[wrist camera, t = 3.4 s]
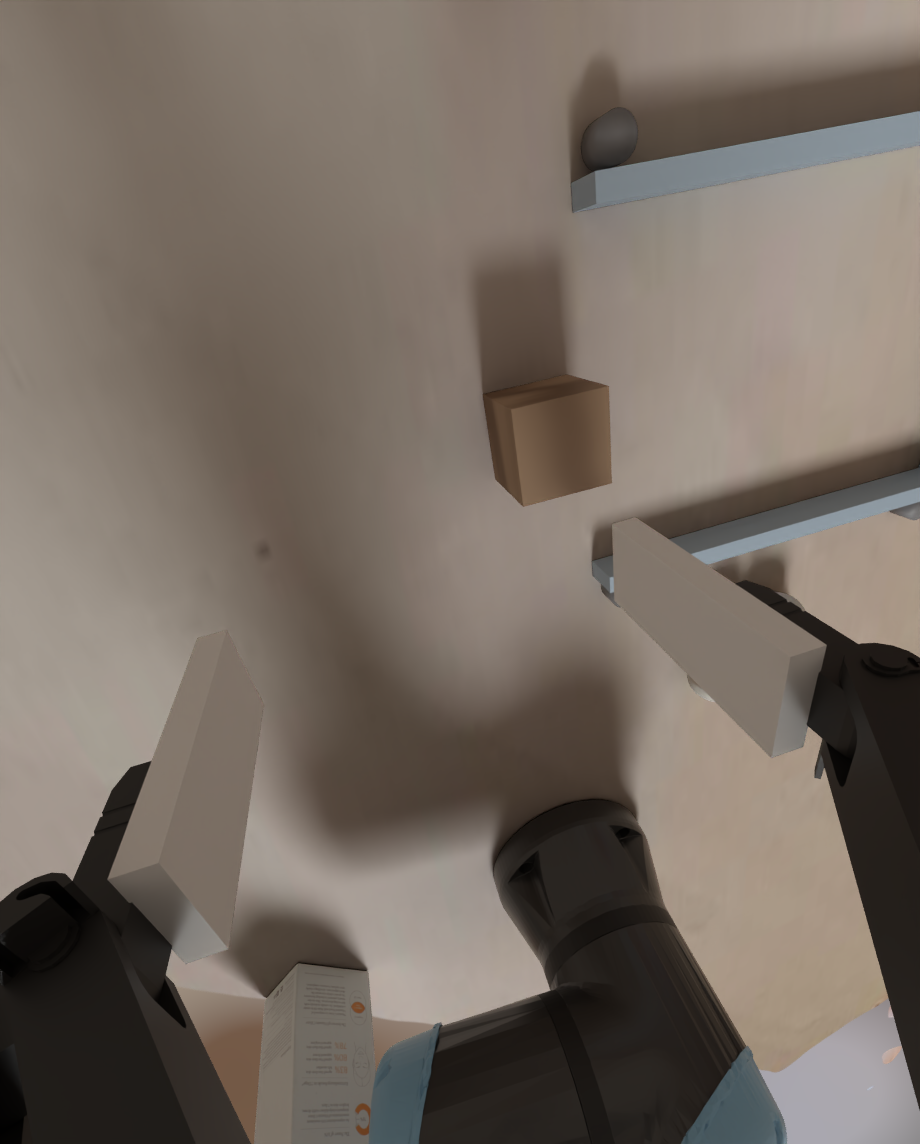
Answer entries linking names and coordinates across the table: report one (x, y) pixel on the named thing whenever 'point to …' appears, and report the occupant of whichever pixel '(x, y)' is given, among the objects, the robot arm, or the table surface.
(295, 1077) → the small box
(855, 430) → the table surface
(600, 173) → the cart frame
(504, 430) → the walnut block
